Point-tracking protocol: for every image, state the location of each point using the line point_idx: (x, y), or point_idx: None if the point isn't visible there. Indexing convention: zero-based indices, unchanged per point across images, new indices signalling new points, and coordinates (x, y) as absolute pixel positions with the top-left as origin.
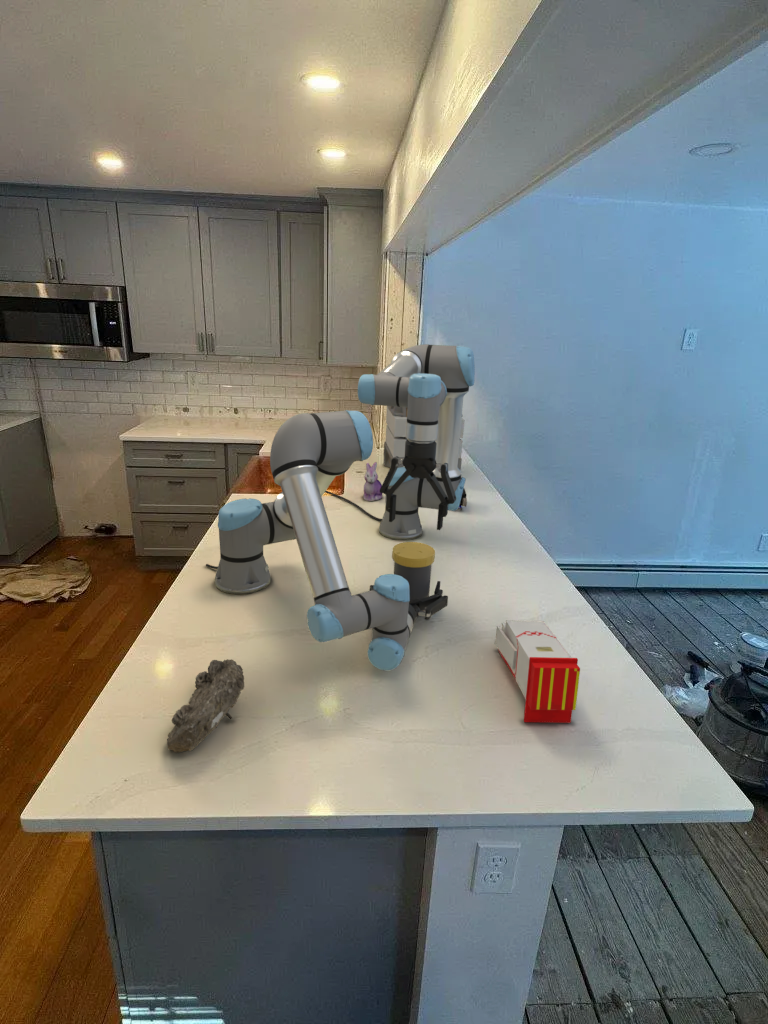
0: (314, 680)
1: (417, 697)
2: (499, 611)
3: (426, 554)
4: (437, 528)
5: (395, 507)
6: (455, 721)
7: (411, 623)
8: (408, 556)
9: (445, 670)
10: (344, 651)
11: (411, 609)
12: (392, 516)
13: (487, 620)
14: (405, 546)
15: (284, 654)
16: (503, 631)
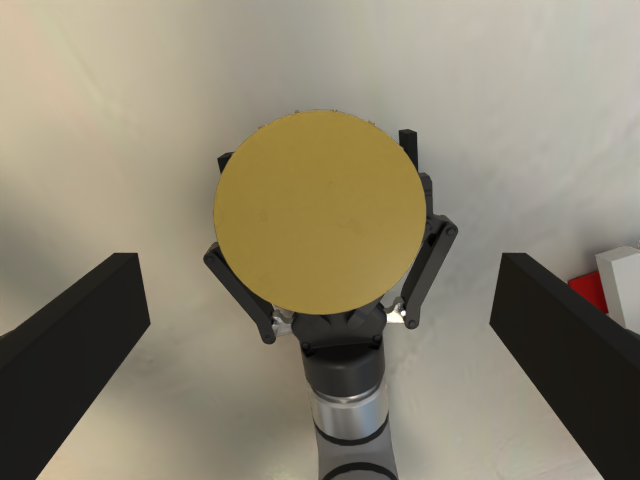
0: (248, 468)
1: (421, 449)
2: (586, 78)
3: (391, 246)
4: (497, 328)
5: (82, 310)
6: (488, 472)
7: (386, 394)
8: (319, 298)
9: (457, 376)
10: (254, 392)
11: (376, 369)
12: (130, 340)
13: (546, 150)
14: (266, 197)
15: (160, 434)
16: (605, 278)
